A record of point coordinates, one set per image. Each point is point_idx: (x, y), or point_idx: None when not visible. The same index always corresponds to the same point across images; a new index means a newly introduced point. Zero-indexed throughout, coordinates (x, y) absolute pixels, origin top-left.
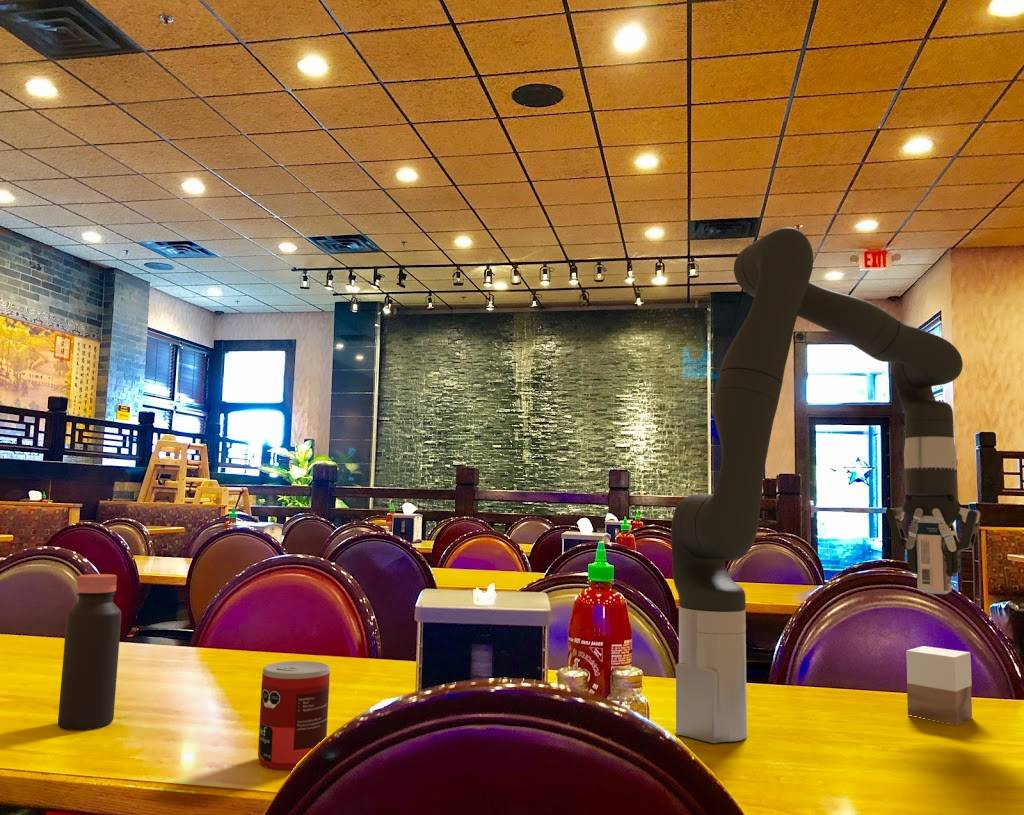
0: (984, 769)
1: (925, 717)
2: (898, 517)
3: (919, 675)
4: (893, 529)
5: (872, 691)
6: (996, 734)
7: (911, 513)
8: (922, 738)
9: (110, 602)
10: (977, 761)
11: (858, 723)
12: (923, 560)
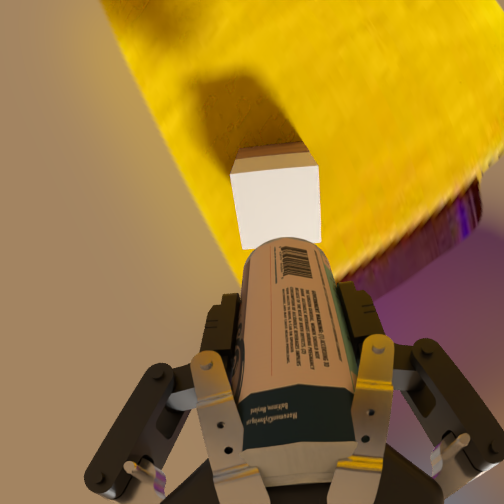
0: (131, 7)
1: (279, 144)
2: (453, 444)
3: (291, 157)
4: (457, 385)
5: (389, 237)
6: (191, 150)
7: (397, 481)
8: (231, 48)
9: None
10: (147, 23)
11: (321, 48)
12: (308, 297)
